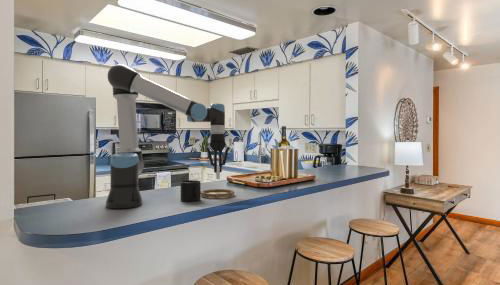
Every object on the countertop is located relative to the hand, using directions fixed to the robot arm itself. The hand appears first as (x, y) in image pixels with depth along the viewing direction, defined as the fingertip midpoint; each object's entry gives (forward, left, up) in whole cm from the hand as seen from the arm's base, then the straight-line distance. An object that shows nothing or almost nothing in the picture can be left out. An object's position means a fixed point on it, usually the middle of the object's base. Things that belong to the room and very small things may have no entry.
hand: (217, 178), depth 161 cm
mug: (-14, -11, -9) cm, 20 cm away
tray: (0, 0, -9) cm, 9 cm away
